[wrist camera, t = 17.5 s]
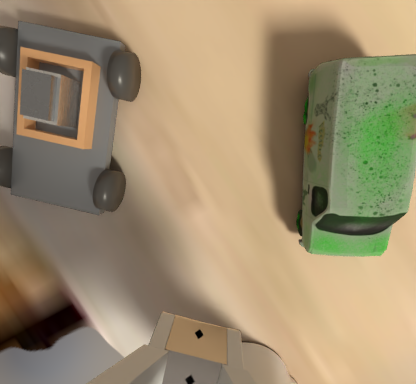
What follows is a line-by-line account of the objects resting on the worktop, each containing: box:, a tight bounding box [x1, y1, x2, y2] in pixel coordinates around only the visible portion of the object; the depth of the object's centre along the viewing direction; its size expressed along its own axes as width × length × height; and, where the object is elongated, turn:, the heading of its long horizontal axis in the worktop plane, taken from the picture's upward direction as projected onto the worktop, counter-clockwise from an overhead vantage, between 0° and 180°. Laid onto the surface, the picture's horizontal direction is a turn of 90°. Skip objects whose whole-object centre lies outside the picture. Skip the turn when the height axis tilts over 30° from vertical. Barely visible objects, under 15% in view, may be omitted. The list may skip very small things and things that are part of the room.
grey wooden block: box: [20, 67, 81, 128], centre depth 31 cm, size 6×4×5 cm
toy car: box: [296, 54, 416, 256], centre depth 31 cm, size 11×25×10 cm, turn 1°
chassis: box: [0, 21, 141, 215], centre depth 34 cm, size 24×18×6 cm
